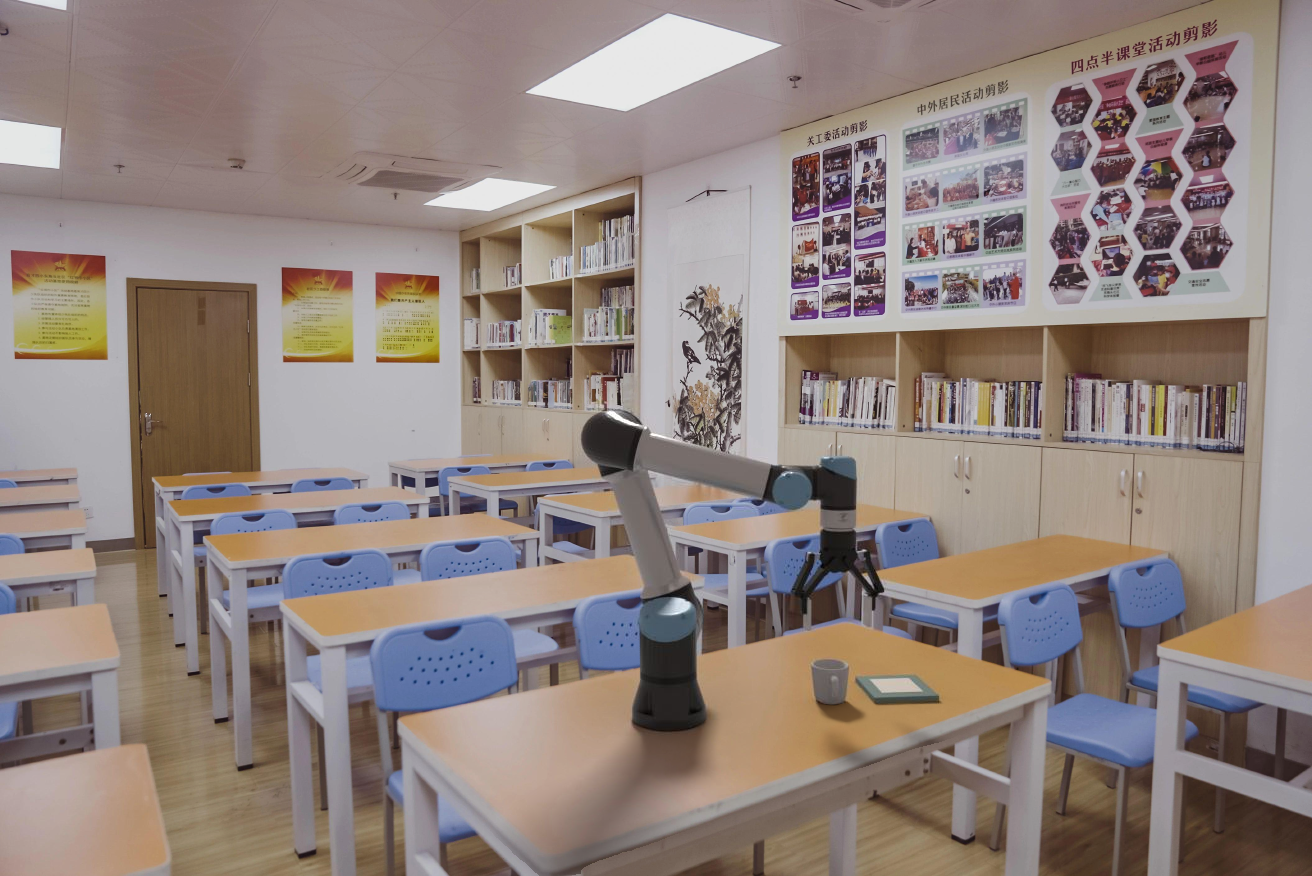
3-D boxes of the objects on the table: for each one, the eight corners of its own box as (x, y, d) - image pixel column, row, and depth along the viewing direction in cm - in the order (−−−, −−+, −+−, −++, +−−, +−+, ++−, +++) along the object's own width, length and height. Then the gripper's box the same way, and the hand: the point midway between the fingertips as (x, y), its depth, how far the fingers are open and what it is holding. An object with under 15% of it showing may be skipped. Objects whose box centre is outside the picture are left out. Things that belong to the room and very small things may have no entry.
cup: (855, 712, 177) (855, 673, 176) (816, 712, 177) (816, 674, 177) (845, 694, 188) (844, 658, 187) (808, 694, 188) (808, 658, 187)
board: (874, 703, 182) (874, 697, 182) (855, 681, 196) (855, 675, 196) (939, 700, 183) (939, 694, 182) (915, 679, 197) (915, 673, 196)
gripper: (787, 533, 176) (787, 634, 177) (900, 529, 181) (899, 628, 182) (776, 527, 184) (776, 625, 185) (885, 524, 188) (884, 619, 189)
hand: (837, 627), depth 183 cm, fingers open, 13 cm apart
